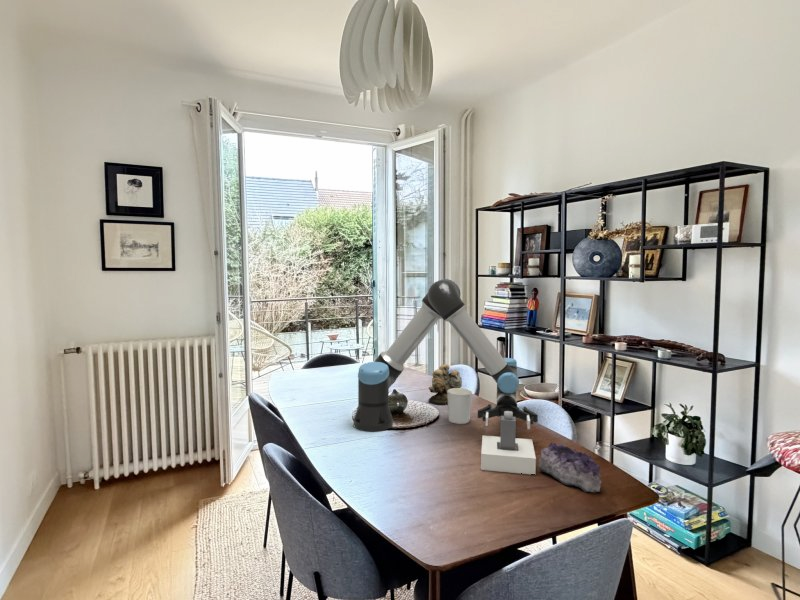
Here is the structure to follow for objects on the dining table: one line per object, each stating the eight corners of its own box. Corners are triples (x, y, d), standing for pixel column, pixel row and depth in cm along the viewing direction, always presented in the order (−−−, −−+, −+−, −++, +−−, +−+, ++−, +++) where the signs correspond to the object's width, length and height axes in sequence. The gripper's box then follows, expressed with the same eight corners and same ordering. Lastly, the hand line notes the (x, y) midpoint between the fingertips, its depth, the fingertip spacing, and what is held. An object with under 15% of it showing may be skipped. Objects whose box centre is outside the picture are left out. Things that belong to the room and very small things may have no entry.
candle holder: (470, 425, 186) (471, 395, 185) (445, 423, 188) (445, 393, 187) (472, 417, 195) (472, 388, 194) (447, 415, 197) (448, 387, 196)
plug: (499, 460, 150) (501, 413, 149) (499, 455, 154) (501, 409, 153) (514, 462, 149) (516, 414, 148) (514, 456, 153) (515, 410, 152)
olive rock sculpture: (435, 407, 209) (436, 368, 208) (422, 400, 219) (422, 363, 218) (469, 402, 217) (470, 365, 216) (454, 395, 228) (455, 360, 226)
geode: (615, 488, 135) (615, 455, 133) (587, 503, 129) (587, 469, 127) (558, 459, 152) (557, 430, 150) (532, 472, 147) (530, 441, 145)
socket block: (480, 469, 145) (481, 453, 145) (482, 449, 161) (482, 435, 161) (535, 474, 142) (535, 458, 142) (531, 454, 158) (531, 439, 158)
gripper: (541, 417, 176) (546, 437, 156) (472, 412, 181) (469, 431, 161) (541, 397, 176) (547, 415, 155) (473, 393, 181) (469, 409, 160)
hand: (507, 423), depth 158 cm, fingers open, 13 cm apart
